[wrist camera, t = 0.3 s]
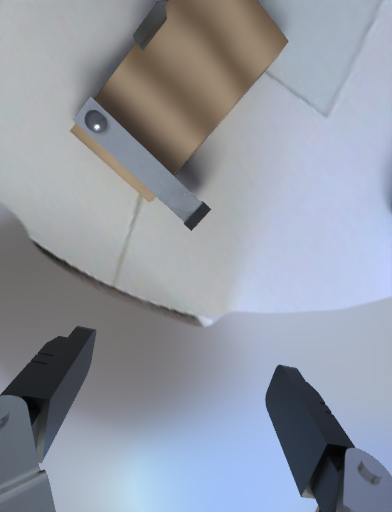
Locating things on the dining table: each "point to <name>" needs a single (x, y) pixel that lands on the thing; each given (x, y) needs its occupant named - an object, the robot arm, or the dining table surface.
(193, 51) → the wooden board with bar
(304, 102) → the dining table surface
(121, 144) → the hinged leg
